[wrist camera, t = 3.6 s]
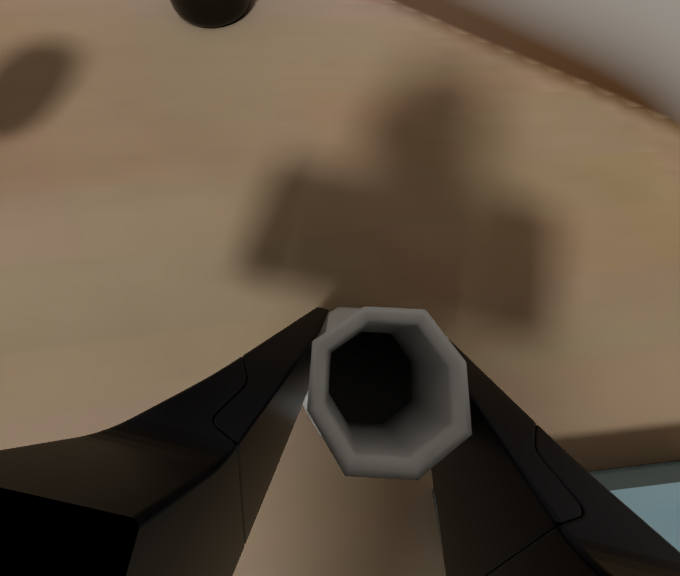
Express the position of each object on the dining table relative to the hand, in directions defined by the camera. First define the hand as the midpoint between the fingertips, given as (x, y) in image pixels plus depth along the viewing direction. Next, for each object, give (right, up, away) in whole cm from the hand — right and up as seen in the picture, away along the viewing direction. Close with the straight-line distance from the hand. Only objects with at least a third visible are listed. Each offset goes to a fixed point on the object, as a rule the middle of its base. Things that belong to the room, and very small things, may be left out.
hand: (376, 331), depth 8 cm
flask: (0, -3, +6) cm, 7 cm away
